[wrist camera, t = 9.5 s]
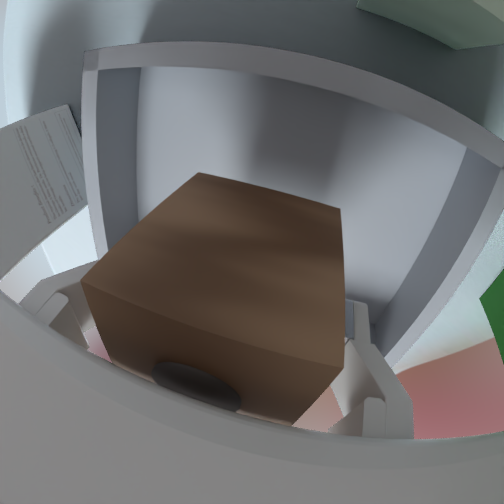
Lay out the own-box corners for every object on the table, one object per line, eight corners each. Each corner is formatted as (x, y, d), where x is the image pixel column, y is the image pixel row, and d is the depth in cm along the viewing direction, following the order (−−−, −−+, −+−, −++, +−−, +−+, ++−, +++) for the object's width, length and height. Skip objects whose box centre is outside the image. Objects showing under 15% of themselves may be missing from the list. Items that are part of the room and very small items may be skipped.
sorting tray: (480, 133, 9) (524, 157, 6) (380, 327, 17) (383, 376, 14) (136, 50, 11) (84, 51, 8) (136, 256, 19) (105, 291, 16)
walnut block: (340, 208, 9) (343, 373, 4) (300, 309, 12) (273, 444, 7) (198, 171, 9) (77, 283, 4) (192, 277, 12) (124, 392, 7)
